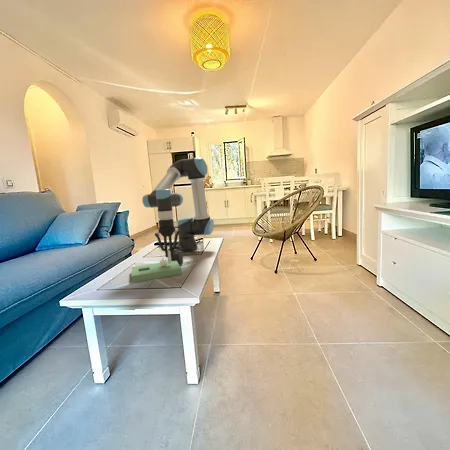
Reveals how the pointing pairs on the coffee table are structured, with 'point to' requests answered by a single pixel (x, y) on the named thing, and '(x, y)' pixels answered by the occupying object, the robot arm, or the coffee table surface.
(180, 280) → the coffee table surface
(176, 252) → the camera
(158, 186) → the robot arm
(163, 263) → the golf ball
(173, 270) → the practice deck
